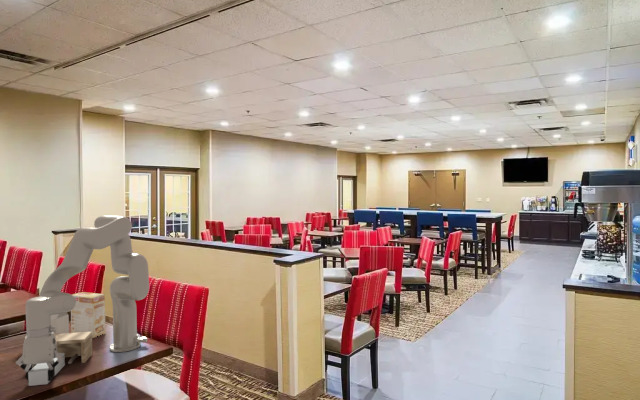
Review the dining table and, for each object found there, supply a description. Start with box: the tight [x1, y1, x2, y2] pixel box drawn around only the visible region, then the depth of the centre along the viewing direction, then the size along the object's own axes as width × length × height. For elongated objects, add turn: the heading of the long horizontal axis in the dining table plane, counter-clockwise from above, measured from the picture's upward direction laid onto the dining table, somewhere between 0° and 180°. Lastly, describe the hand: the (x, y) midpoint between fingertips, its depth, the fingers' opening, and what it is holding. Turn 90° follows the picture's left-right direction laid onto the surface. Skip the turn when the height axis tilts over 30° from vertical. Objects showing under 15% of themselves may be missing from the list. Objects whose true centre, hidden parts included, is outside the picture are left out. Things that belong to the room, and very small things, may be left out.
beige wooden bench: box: [32, 332, 93, 368], centre depth 171 cm, size 20×9×10 cm, turn 102°
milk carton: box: [51, 312, 70, 334], centre depth 182 cm, size 7×7×19 cm
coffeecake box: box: [70, 291, 106, 339], centre depth 201 cm, size 15×7×20 cm, turn 69°
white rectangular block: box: [27, 353, 66, 387], centre depth 157 cm, size 6×16×5 cm, turn 12°
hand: (40, 379), depth 152 cm, fingers closed on white rectangular block, 5 cm apart
